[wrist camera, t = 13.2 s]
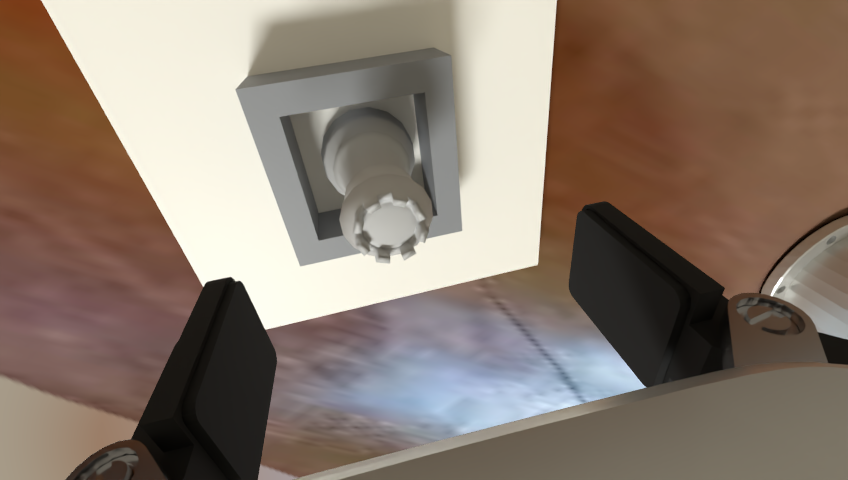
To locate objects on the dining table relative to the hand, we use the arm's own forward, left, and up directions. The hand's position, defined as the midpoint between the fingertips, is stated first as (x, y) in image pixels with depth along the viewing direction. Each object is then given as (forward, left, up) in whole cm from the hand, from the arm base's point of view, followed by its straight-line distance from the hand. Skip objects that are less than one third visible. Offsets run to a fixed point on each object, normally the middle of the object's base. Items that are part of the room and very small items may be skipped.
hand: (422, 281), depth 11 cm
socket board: (+1, 0, -12) cm, 12 cm away
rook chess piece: (0, 0, -11) cm, 11 cm away
